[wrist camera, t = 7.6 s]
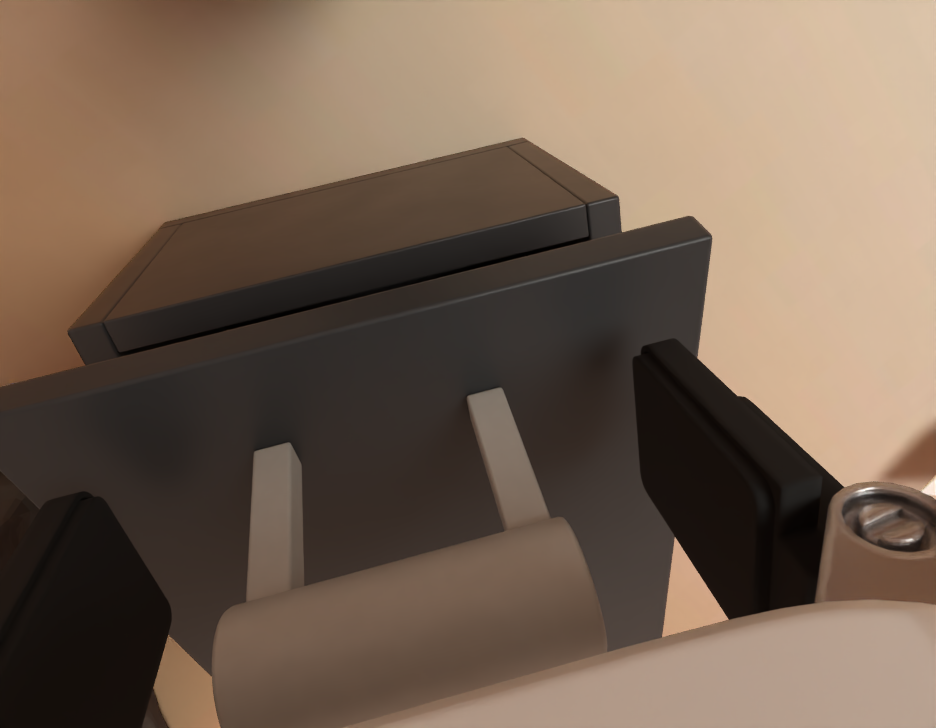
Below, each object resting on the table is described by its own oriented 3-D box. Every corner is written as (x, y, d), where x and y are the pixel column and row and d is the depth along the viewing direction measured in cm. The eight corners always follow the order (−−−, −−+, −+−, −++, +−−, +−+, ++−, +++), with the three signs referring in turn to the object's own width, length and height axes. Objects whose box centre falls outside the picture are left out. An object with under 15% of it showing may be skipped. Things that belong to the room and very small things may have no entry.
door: (-31, 391, 11) (-249, 790, 6) (692, 212, 11) (941, 458, 7) (285, 722, 21) (284, 958, 17) (652, 617, 22) (742, 817, 17)
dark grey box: (163, 222, 22) (64, 331, 14) (524, 137, 22) (619, 195, 15) (300, 536, 29) (285, 722, 21) (570, 463, 29) (651, 617, 22)
